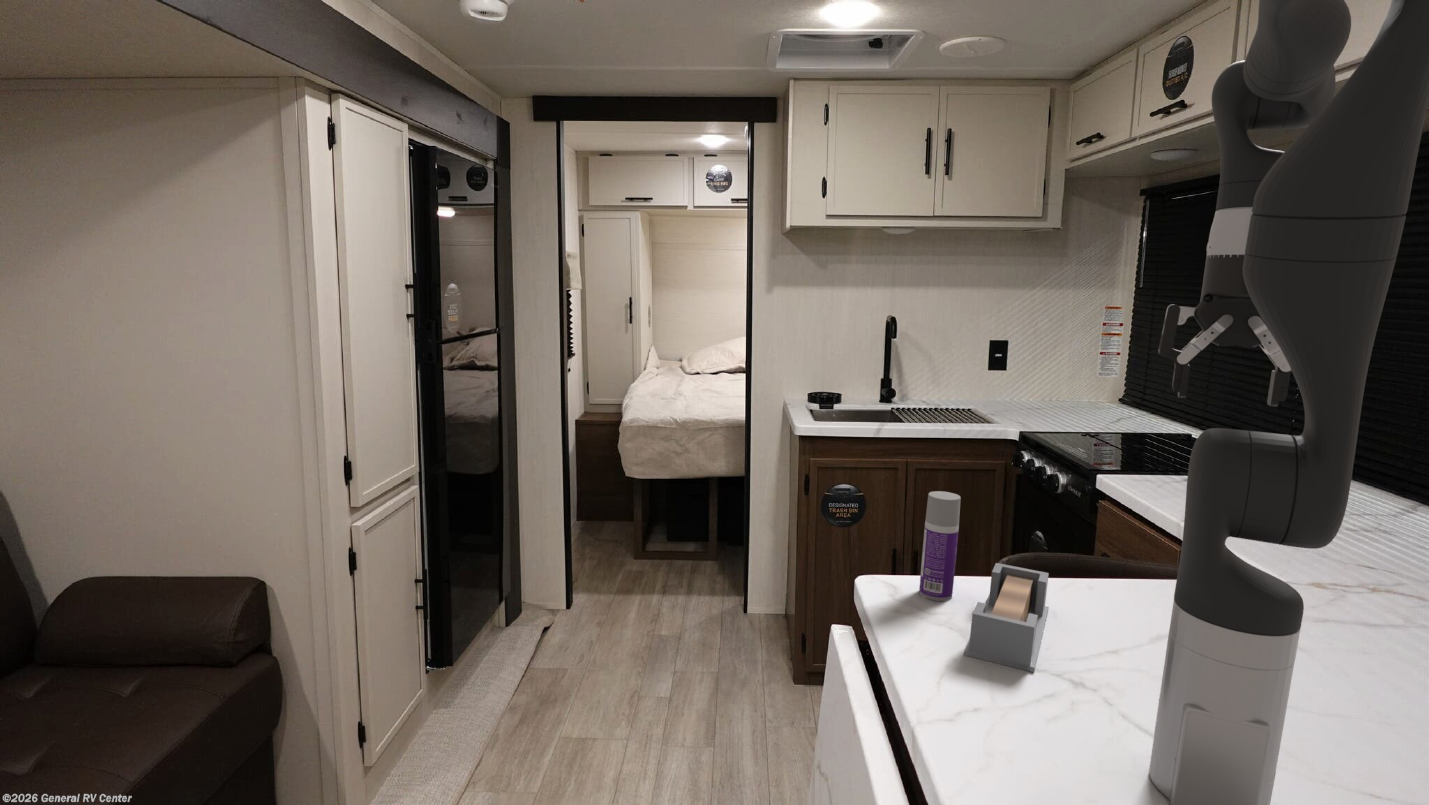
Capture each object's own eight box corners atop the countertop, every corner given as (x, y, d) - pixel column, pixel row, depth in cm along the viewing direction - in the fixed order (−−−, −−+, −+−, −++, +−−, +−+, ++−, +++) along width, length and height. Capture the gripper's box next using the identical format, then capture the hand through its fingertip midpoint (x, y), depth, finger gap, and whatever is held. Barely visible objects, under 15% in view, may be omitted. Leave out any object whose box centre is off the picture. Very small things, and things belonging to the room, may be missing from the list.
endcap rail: (1034, 672, 90) (1039, 628, 89) (964, 655, 93) (968, 612, 93) (1048, 611, 107) (1052, 573, 106) (988, 598, 111) (992, 562, 110)
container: (959, 599, 110) (968, 498, 108) (932, 603, 108) (941, 501, 106) (938, 586, 115) (947, 490, 112) (912, 590, 113) (920, 492, 110)
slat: (1016, 653, 93) (1019, 622, 92) (987, 646, 95) (990, 616, 94) (1030, 606, 107) (1033, 579, 106) (1004, 601, 109) (1007, 574, 108)
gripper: (1174, 250, 83) (1154, 398, 85) (1339, 252, 76) (1312, 412, 79) (1169, 253, 89) (1151, 391, 92) (1321, 256, 83) (1297, 403, 85)
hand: (1226, 401), depth 85 cm, fingers open, 8 cm apart
